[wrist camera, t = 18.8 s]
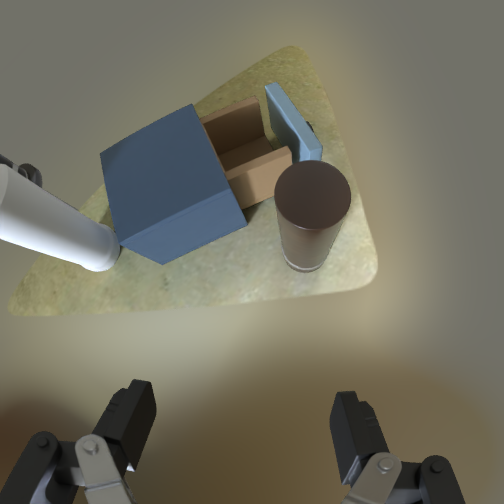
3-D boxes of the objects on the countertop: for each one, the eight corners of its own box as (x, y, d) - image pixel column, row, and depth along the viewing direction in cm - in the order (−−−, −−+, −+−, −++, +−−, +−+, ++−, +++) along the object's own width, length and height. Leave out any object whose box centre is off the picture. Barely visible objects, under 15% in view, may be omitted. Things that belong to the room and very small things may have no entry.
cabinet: (214, 151, 31) (191, 103, 23) (248, 225, 29) (230, 187, 21) (139, 189, 32) (99, 153, 23) (162, 265, 29) (117, 244, 21)
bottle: (129, 252, 30) (-82, 135, 6) (98, 282, 30) (-113, 209, 6) (109, 218, 31) (-68, 97, 7) (80, 248, 31) (-102, 160, 7)
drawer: (291, 120, 30) (288, 77, 24) (328, 179, 28) (336, 141, 21) (208, 154, 30) (189, 116, 24) (237, 219, 28) (221, 190, 22)
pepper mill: (282, 272, 27) (272, 230, 15) (283, 229, 28) (273, 158, 16) (327, 273, 27) (354, 231, 14) (326, 230, 28) (348, 159, 15)
